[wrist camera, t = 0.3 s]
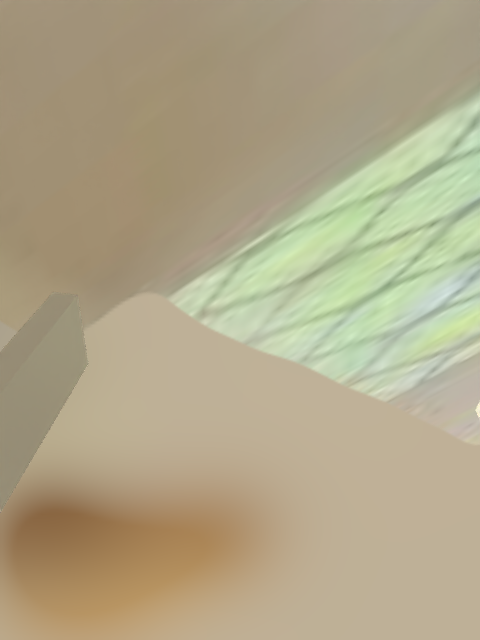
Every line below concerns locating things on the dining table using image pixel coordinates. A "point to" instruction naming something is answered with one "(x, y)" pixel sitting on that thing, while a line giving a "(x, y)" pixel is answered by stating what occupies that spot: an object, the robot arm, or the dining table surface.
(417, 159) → the dining table surface
